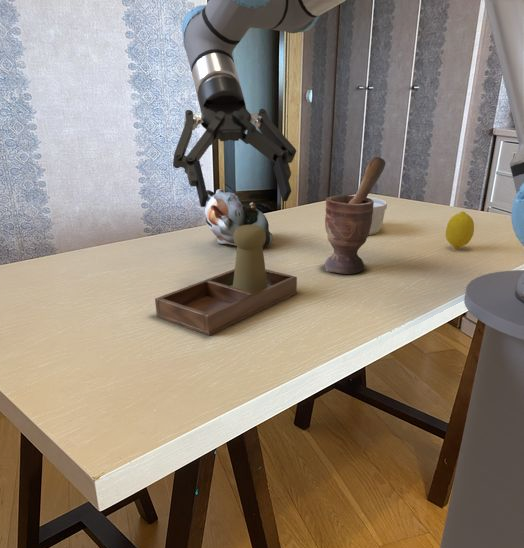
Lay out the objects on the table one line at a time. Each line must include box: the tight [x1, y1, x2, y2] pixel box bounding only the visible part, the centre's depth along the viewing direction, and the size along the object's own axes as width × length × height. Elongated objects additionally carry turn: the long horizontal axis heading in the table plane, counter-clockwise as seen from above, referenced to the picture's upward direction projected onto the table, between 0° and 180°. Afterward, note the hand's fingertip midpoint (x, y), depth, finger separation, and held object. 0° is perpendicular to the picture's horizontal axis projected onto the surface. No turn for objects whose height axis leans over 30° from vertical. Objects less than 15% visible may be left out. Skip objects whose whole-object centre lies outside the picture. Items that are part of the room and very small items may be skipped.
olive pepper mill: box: [233, 225, 268, 293], centre depth 86 cm, size 6×6×11 cm
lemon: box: [445, 210, 475, 250], centre depth 112 cm, size 6×6×8 cm
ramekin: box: [366, 196, 388, 236], centre depth 127 cm, size 13×13×7 cm
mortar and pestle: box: [324, 156, 386, 275], centre depth 98 cm, size 12×9×20 cm
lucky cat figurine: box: [204, 188, 274, 249], centre depth 114 cm, size 15×12×14 cm
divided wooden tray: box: [154, 268, 298, 337], centre depth 85 cm, size 11×21×3 cm, turn 142°
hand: (246, 199), depth 83 cm, fingers open, 13 cm apart
